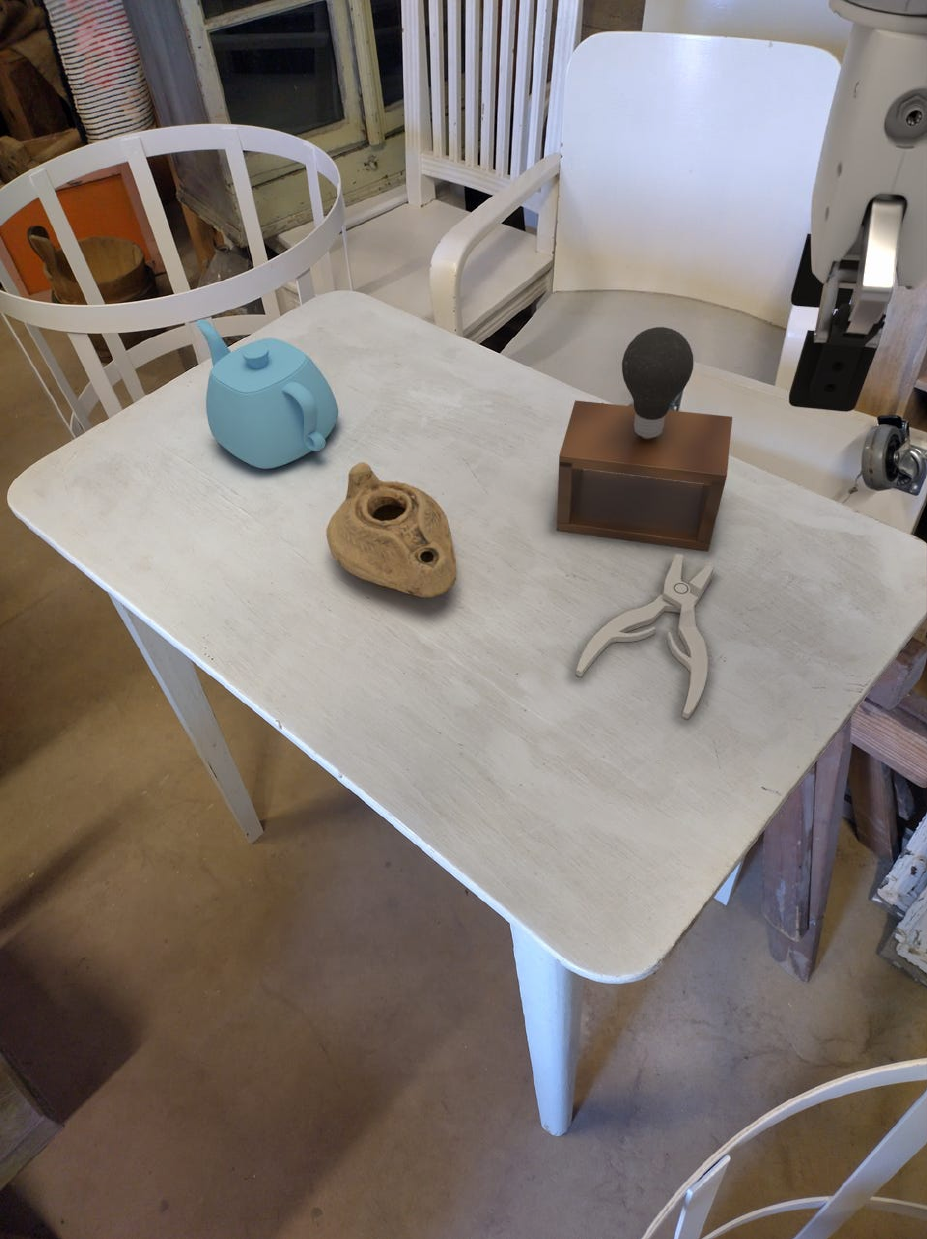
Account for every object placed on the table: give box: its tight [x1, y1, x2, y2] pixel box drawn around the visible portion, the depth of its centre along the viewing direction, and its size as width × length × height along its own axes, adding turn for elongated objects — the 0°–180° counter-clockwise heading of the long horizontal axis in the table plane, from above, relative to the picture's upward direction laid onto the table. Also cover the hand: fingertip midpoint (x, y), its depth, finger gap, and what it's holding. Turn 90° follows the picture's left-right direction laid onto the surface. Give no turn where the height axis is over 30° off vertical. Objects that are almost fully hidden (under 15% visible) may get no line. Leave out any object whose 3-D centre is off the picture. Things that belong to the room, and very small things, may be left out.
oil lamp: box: [325, 461, 457, 598], centre depth 72 cm, size 11×15×8 cm
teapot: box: [196, 318, 339, 470], centre depth 85 cm, size 13×11×18 cm
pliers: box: [575, 553, 715, 720], centre depth 68 cm, size 10×2×15 cm
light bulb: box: [621, 326, 695, 439], centre depth 67 cm, size 6×6×10 cm
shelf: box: [555, 400, 733, 552], centre depth 74 cm, size 14×8×9 cm, turn 75°
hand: (819, 352), depth 45 cm, fingers open, 9 cm apart
